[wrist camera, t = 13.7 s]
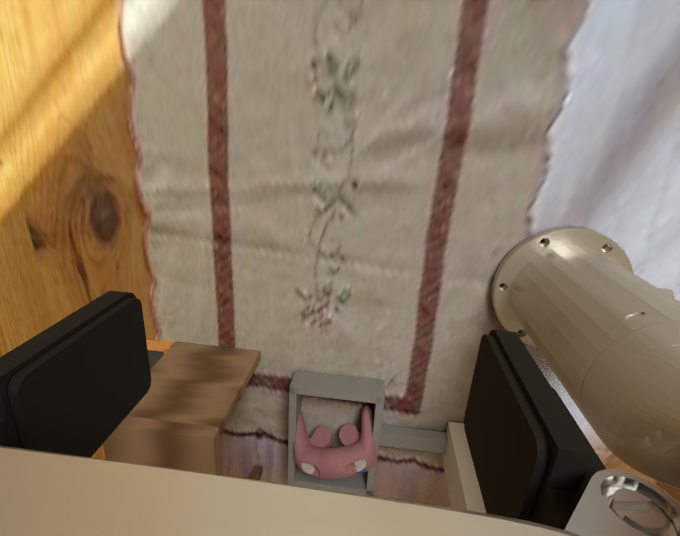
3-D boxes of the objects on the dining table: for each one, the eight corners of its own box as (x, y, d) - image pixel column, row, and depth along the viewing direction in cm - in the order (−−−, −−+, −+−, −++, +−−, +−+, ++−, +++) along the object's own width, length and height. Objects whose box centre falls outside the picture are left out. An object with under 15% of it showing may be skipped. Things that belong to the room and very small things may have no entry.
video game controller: (301, 423, 49) (295, 484, 44) (290, 408, 46) (282, 472, 41) (378, 417, 48) (381, 480, 43) (372, 401, 44) (375, 467, 40)
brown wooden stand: (260, 350, 44) (213, 437, 32) (262, 472, 51) (223, 583, 39) (176, 341, 45) (99, 423, 33) (188, 462, 52) (128, 567, 39)
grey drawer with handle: (476, 391, 43) (506, 475, 33) (455, 485, 48) (475, 584, 38) (295, 370, 45) (268, 444, 34) (293, 464, 50) (269, 553, 39)
